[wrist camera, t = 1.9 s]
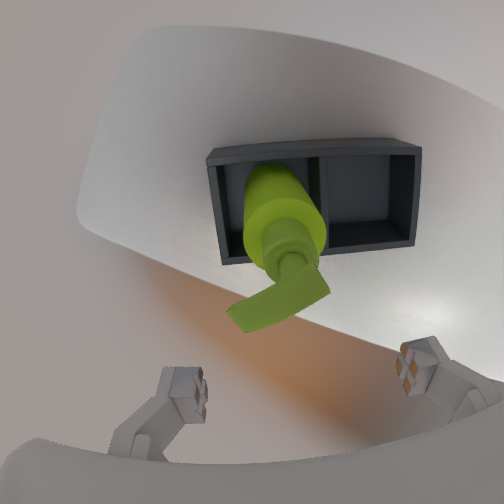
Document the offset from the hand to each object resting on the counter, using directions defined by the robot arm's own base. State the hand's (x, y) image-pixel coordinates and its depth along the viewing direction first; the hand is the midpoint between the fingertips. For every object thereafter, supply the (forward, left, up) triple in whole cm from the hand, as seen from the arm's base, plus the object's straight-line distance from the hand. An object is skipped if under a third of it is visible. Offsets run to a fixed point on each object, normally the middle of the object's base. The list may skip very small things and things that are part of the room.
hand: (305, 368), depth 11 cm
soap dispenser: (0, 0, -25) cm, 25 cm away
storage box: (0, +5, -25) cm, 26 cm away
